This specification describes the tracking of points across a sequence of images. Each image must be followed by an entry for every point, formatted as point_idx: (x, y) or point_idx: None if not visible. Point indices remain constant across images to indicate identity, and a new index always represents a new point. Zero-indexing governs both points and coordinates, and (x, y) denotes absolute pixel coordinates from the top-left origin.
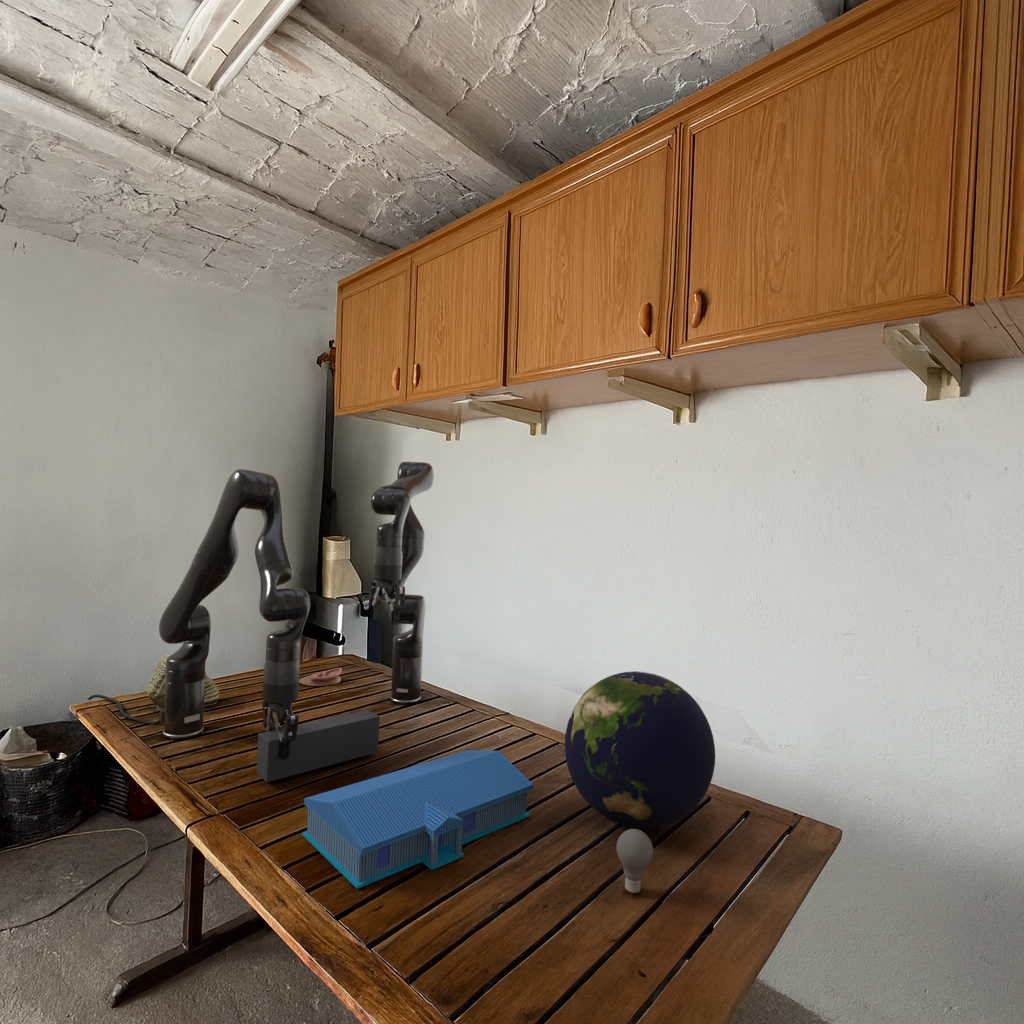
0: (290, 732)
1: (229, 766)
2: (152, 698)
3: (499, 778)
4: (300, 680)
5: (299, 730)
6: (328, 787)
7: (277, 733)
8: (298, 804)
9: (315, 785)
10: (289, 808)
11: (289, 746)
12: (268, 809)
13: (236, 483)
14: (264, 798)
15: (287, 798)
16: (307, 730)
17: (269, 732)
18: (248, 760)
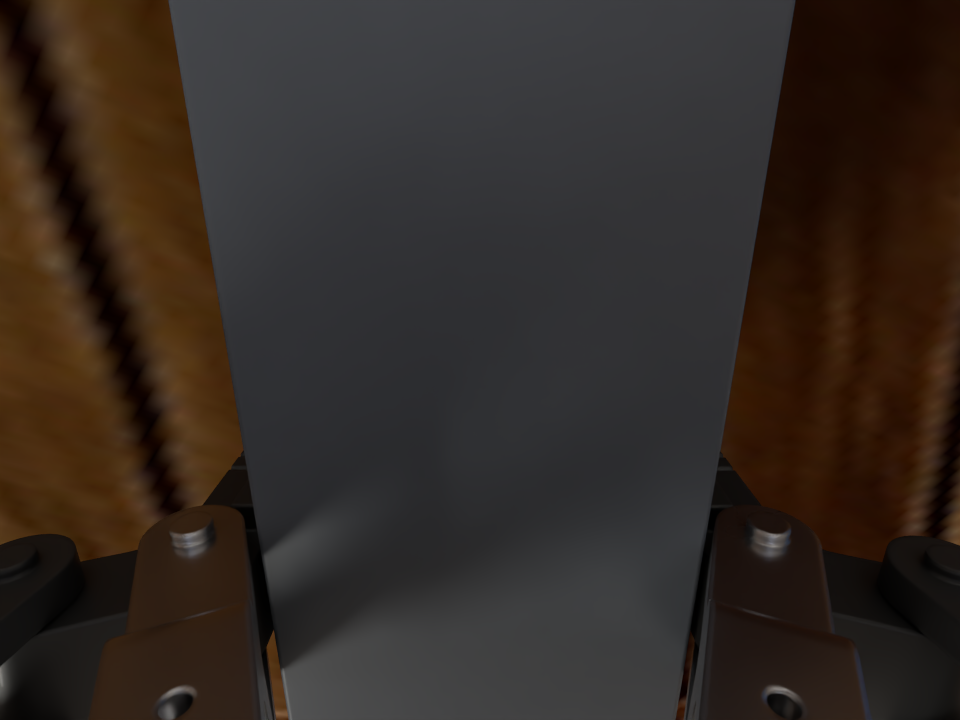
0: (825, 627)
1: (88, 502)
2: None
3: None
4: None
5: (544, 276)
6: (891, 78)
7: (450, 619)
8: (929, 384)
9: (775, 153)
10: (925, 446)
11: (750, 495)
12: (832, 534)
13: None
14: None
15: (797, 403)
16: (651, 125)
17: (342, 684)
18: (27, 375)
